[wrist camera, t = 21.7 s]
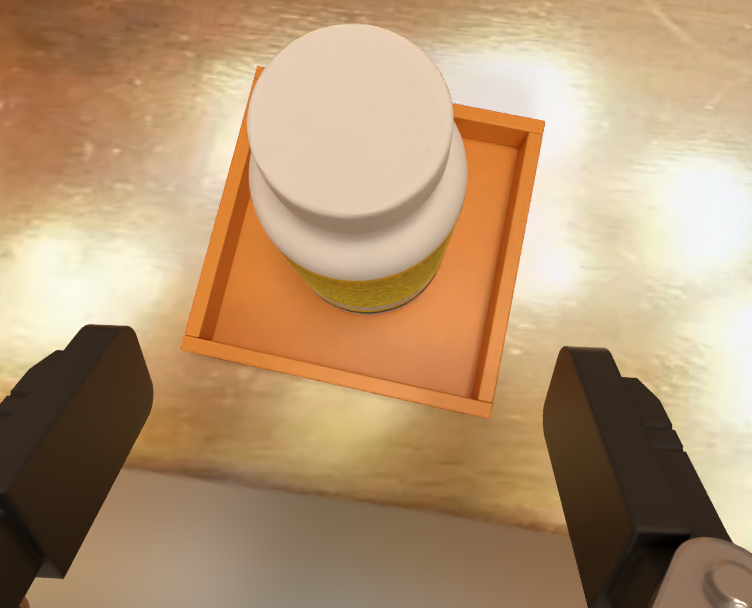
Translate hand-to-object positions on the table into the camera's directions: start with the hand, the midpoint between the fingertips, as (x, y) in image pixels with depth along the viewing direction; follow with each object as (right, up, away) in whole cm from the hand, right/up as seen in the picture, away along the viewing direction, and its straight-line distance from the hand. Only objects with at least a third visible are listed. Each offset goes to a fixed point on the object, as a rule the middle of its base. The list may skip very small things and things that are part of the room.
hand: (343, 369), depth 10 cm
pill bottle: (0, +4, +13) cm, 13 cm away
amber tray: (0, +4, +13) cm, 14 cm away
